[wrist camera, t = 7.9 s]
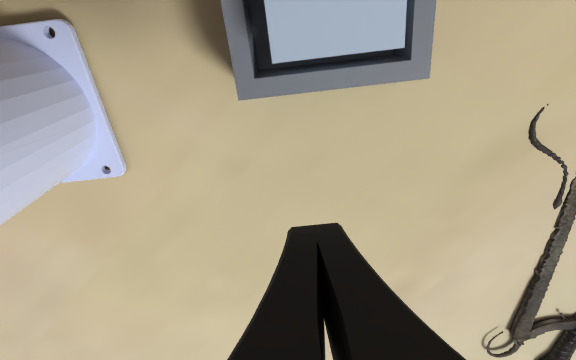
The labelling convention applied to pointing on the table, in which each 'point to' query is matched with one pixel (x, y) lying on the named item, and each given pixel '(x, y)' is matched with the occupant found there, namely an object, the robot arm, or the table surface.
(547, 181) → the table surface
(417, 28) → the key housing
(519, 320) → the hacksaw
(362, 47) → the light blue square block
